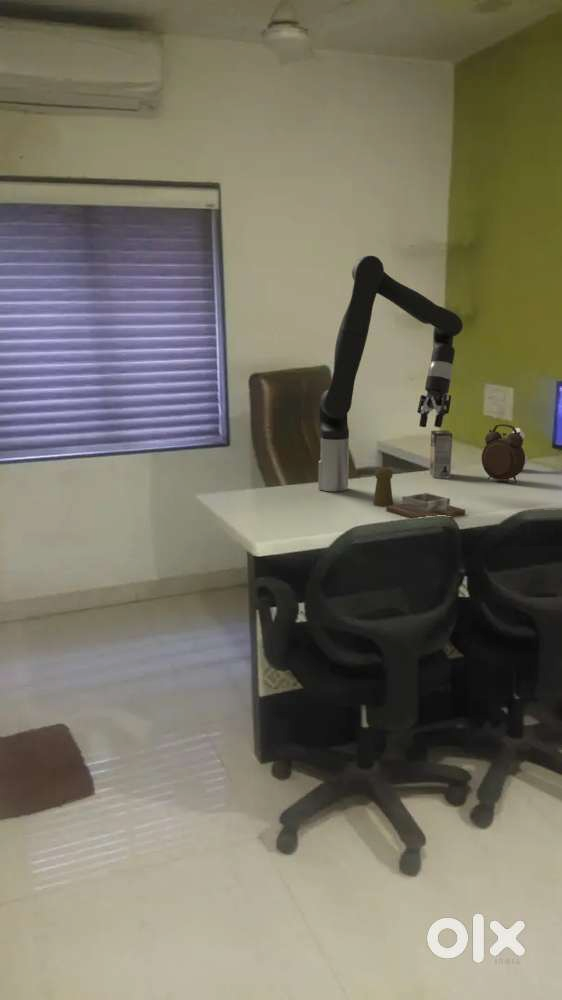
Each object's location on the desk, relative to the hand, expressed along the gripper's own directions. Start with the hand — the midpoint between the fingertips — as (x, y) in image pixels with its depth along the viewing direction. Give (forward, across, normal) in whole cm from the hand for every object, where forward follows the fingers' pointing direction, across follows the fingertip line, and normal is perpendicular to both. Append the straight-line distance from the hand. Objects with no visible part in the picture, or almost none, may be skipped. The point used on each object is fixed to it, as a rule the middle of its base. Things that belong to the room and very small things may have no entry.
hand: (429, 427), depth 246 cm
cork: (+27, +7, -16) cm, 33 cm away
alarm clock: (+12, -6, +38) cm, 40 cm away
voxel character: (+6, -21, +55) cm, 59 cm away
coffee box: (+14, -24, +24) cm, 36 cm away
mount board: (+27, +22, -10) cm, 36 cm away
